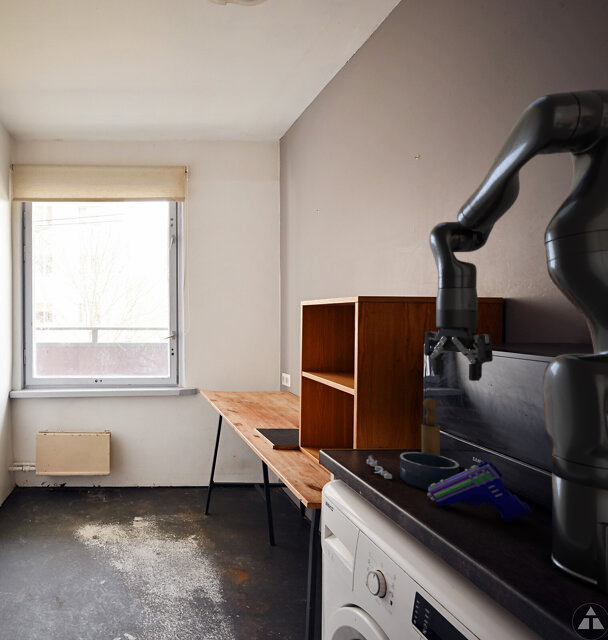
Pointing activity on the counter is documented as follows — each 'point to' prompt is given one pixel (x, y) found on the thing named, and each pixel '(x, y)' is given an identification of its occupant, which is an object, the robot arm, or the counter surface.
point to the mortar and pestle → (430, 429)
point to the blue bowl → (426, 469)
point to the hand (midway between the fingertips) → (455, 377)
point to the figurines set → (378, 468)
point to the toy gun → (479, 491)
